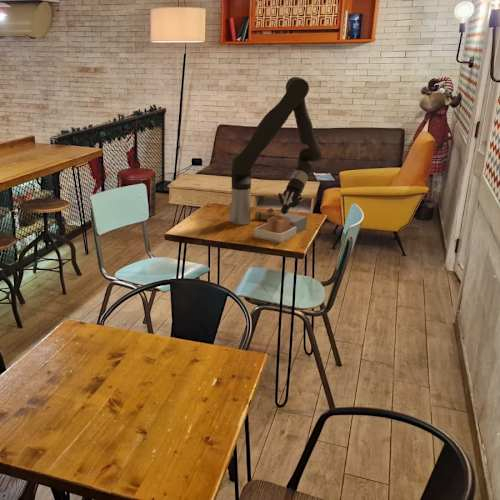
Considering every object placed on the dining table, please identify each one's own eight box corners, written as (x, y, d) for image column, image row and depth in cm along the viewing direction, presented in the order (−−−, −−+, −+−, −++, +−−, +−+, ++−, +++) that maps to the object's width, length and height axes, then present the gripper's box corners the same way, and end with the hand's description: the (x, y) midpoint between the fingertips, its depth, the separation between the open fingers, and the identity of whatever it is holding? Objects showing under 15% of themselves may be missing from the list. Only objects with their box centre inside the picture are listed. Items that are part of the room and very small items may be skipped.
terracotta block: (276, 229, 221) (266, 233, 215) (276, 215, 219) (267, 218, 212) (289, 232, 217) (280, 236, 211) (289, 217, 215) (280, 221, 209)
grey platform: (271, 230, 224) (272, 217, 221) (284, 224, 233) (284, 212, 231) (294, 235, 217) (294, 222, 215) (306, 228, 227) (307, 216, 225)
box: (253, 237, 213) (253, 228, 212) (269, 229, 224) (270, 221, 223) (280, 243, 206) (281, 234, 204) (296, 235, 217) (296, 227, 216)
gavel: (263, 204, 256) (281, 206, 254) (262, 212, 258) (280, 214, 256) (255, 211, 237) (274, 213, 235) (254, 220, 238) (274, 222, 236)
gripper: (282, 175, 223) (268, 206, 217) (308, 179, 216) (293, 211, 210) (287, 185, 229) (273, 215, 223) (312, 189, 222) (298, 220, 216)
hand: (283, 213), depth 217 cm, fingers closed
